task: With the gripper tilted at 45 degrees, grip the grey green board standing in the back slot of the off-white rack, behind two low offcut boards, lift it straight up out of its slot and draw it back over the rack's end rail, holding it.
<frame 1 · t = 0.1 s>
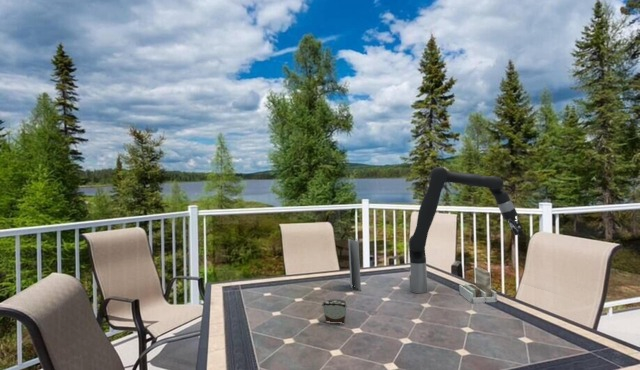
hand: (519, 235, 209), 31 cm above the table, tool tilted 20°, fingers open, 8 cm apart
rack: (483, 297, 202), on the table
walnut offcut board: (474, 298, 202), resting in rack
food container: (337, 321, 177), on the table
sage offcut board: (470, 298, 202), resting in rack
dark grey tall slab: (355, 288, 233), on the table
grey green board: (483, 297, 202), resting in rack
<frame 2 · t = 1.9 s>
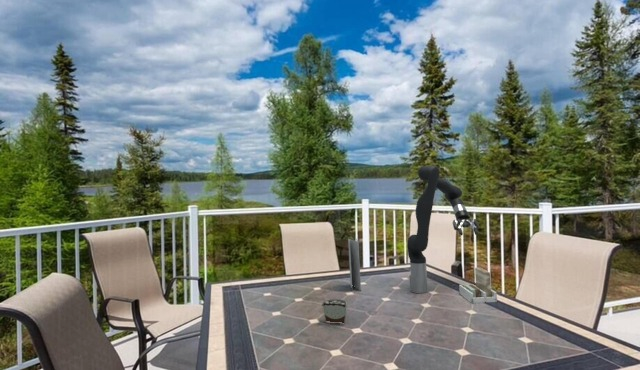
hand: (469, 234, 218), 32 cm above the table, tool tilted 45°, fingers open, 8 cm apart
nothing on the table moved.
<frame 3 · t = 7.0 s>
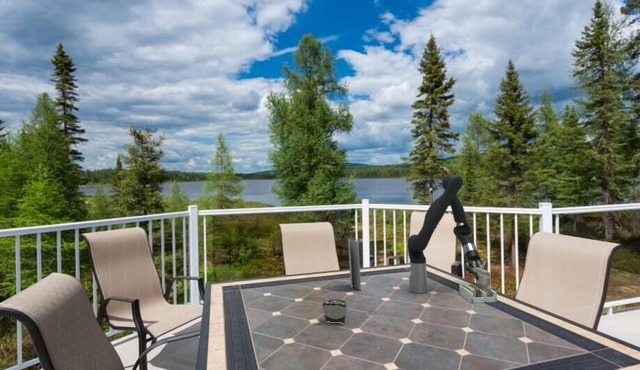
hand: (481, 279, 204), 10 cm above the table, tool tilted 45°, fingers closed on grey green board, 3 cm apart
grey green board: (483, 297, 202), resting in rack, touching gripper
everything else where it was.
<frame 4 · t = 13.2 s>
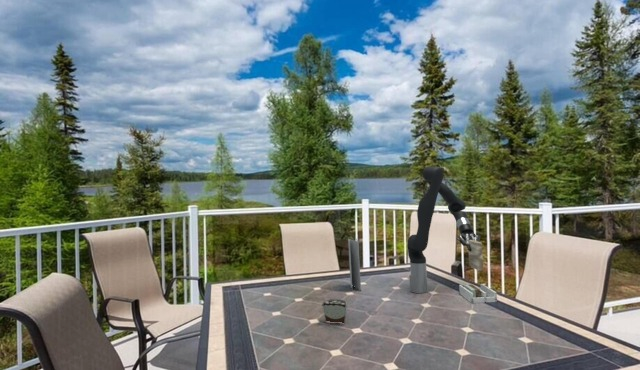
hand: (473, 250, 212), 24 cm above the table, tool tilted 45°, fingers closed on grey green board, 3 cm apart
grey green board: (476, 267, 210), point 14 cm above the table, touching gripper
everything else where it was.
at the end: the gripper is holding grey green board; grey green board point 14.4 cm above the table; walnut offcut board moved 0.1 cm from its start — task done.
